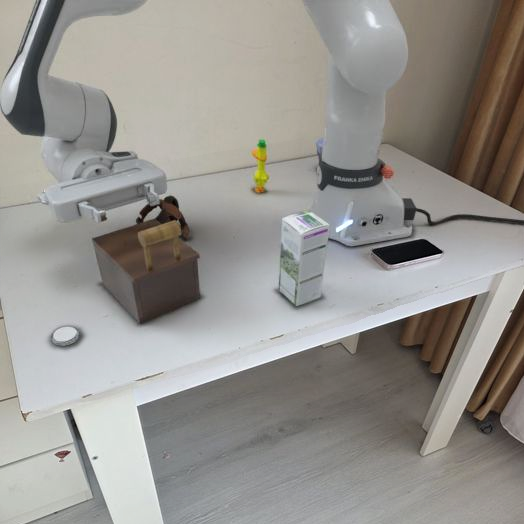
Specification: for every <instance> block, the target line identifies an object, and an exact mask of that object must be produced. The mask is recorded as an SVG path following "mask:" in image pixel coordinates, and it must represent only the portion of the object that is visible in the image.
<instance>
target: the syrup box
mask: <svg viewBox="0 0 524 524" xmlns="http://www.w3.org/2000/svg"><path fill="white" fill-rule="evenodd" d="M329 227H330V225H329V224H328V223H326V222H325V221H323V220H322V219H321V218H319V217H318V216H316V215H315V214H313V213H312V212H311V210H303V211H299V212H295V213H293V214H290V215H287V216H285V217H282V218H281V231H280V232H281V233H280V234H281V235H280V250H279V251H280V255H279V271H278V273H279V274H278V291H279V292H280V294H282V295H283V296H284V297H285V298H286V299H287V300H288V301H289V302H290V303H292V304H293V305H294V306H295V307H299V306H303V305H305V304H307V303H310V302H312V301H315V300H318V299H319V298H321V297H322V289H323V282H324V275H325V266H326V257H327V251H328V245H329V243H328V242H329V238H328V236H329Z"/></svg>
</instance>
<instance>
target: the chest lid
mask: <svg viewBox="0 0 524 524" xmlns="http://www.w3.org/2000/svg"><path fill="white" fill-rule="evenodd" d="M181 235H182V228H181V226H180V223H179V221H175V220H174V221H171V222H168V223H165V224H161V223H160V222H158V221H157V220H156V219H155V218H152V219H149V220H144V222H142V223H139V224H137V223H136V224H132V225H130V226H127V227H123V228H119V229H117V230H114V231H111V232H107V233H105V234H102V235H98V236H95V237H91V240H92V243H94V244H95V245H96V246H97V247H98V248H99V249H100V250H101V251H102V252H103V253H104V254H105V255H106V256H107V257H108V258H109V259H110V260H111V261H112V262H113V263H114V264H115V265H116V266H117V267H118V268H119V269H120V270H121V271H122V272H123V273H124V274H125V275H126V276H127V277H128V278H129V279H130V280H131V281H132V282H133V283H136V282H139V281H142V280H144V279H147V278H150V277H152V276H155V275H157V274H160V273H163V272H165V271H168V270H170V269H173V268H176V267H178V266H181V265H184V264H186V263H189V262H191V261H194V260H199V259H201V254H200V253H199V252H198V251H197V250H195V249H194V248H193V247H192V246H191V245H189V244H187V243H186V242H185V241H184V240H182V239H181V238H180V236H181Z"/></svg>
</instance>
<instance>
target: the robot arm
mask: <svg viewBox="0 0 524 524" xmlns="http://www.w3.org/2000/svg"><path fill="white" fill-rule="evenodd" d="M147 2H148V0H35V2H34V5H33V8H32V11H31V13H30V15H29V19H28V21H27V23H26V27H25V30H24V32H23V35H22V38H21V41H20V43H19V46H18V49H17V52H16V54H15V56H14V59H13V61H12V63H11V65H10V67H9V68H8V69H7V72H6V74H5V76H4V77H3V81H2V84H1V88H0V111H1V114H2V115H3V117H4V118H5V119H6V120H7V122H8V123H9V124H10V125H11V127H13V129H15V130H16V131H17V132H18V133H19V134H20V135H22V136H32V137H43V138H42V139H41V142H40V147H39V150H40V151H39V152H40V156H41V157H40V158H41V159H42V162H43V164H44V166H45V168H46V170H47V171H48V173H50V175H51V176H52V177H53V178H54V179H55V180H56V181H57V182H58V183H54V184H50V185H48V186H47V187H45V189H43V192H41V193H39V194H37V199H38V200H39V202H40V203H41V204H42V205H45V206H48V207H49V211H50V213H51V215H52V216H53V218H54V219H55V220H56V221H57V222H58V223H62V224H63V223H65V224H66V223H70V222H73V221H77V220H80V219H88V220H94V221H95V222H96V223H98V224H100V223H102V222H105V221H108V217H107V213H106V212H107V211H111V210H113V209H117V208H120V207H124V206H127V205H130V204H134V203H137V202H140V201H141V202H142V201H144V200H146V205H147V204H149V205H150V206H155V205H158V204H160V202H159V199H160V197H159V196H160V195H165V194H167V191H168V181H167V175H166V173H165V171H164V170H163V169H162V168H160V167H159V166H157V165H156V164H154V163H153V162H151V161H149V160H147V159H144V158H139V156H138V153H136V152H135V151H133V150H127V151H111V149H112V147H113V145H114V143H115V141H116V140H115V139H116V135H117V130H118V117H117V113H116V111H115V108H114V105H113V103H112V102H111V99H110V98H109V96H108V94H107V93H106V92H105V91H104V90H102V89H100V88H99V89H98V88H95V87H93V86H90V85H86V84H82V83H79V82H74V81H70V80H67V79H63V78H60V77H57V76H54V75H50V74H49V72H50V70H51V67H52V65H53V63H54V60H55V57H56V54H57V52H58V50H59V47H60V45H61V42H62V40H63V37H64V35H65V33H66V32H67V30H68V28H70V27H71V25H72V24H74V23H75V22H78V21H80V20H82V19H87V18H93V17H116V16H118V17H119V16H124V15H127V14H130V13H131V14H132V13H133V12H135V11H137V10H139V9H140V8H142V7H143V6H144V5H145V4H146V3H147ZM300 2H301V3H302V4H303V7H304V8H305V11H306V12H307V14H308V15H309V18H310V19H311V22H312V23H313V25H314V27H315V29H316V30H317V33H318V34H319V36H320V38H321V40H322V41H323V43H324V45H325V48H326V49H327V51H328V63H327V64H328V65H327V85H326V107H325V109H326V111H325V120H324V129H323V130H324V131H323V138H324V139H323V148H322V154H321V155H320V157H318V165H317V168H316V191H315V194H314V197H313V201H312V205H311V208H310V211H311V212H312V213H313V214H315V215H316V216H318V217H319V218H321V219H322V220H323V221H325V222H326V223H328V224H329V225H330V227H329V236H328V239H330V240H334V241H337V242H339V243H341V244H343V245H345V246H347V247H356V246H363V245H368V244H373V243H380V242H386V241H390V240H391V241H392V240H397V239H402V238H408V237H410V236H411V235H412V233H413V223H412V222H411V221H414V220H415V216H416V213H420V214H422V215H425V216H426V219H427V223H428V224H429V225H431V226H437V225H440V224H443V223H446V222H448V221H450V220H453V219H459V218H460V219H462V218H463V219H477V220H483V221H484V220H485V221H492V222H493V221H494V222H502V223H503V222H505V223H514V224H524V219H516V218H507V217H497V216H485V215H477V214H468V213H467V214H466V213H463V214H461V213H459V214H453V215H449V216H447V217H444V218H443V219H441V220H439V221H432V218H431V217H432V216H431V214H430V213H429V212H428V211H427V210H425V209H422V208H418V207H416V205H415V202H414V200H413V199H412V198H411V197H410V198H409V197H402V195H401V194H400V193H399V191H398V190H397V189H396V188H395V187H394V186H393V185H392V184H391V183H389V181H387V180H391V179H392V178H393V177H394V175H395V174H394V173H395V172H394V170H393V168H392V167H391V166H389V165H386V163H385V162H384V161H383V160H382V159H380V158H379V155H380V152H381V151H380V150H381V146H382V141H383V135H384V131H385V124H386V101H387V100H386V97H387V91H388V90H390V89H391V88H393V86H395V85H396V84H397V83H398V82H399V81H400V79H401V77H402V76H403V74H404V73H405V70H406V67H407V64H408V60H409V44H408V39H407V35H406V33H405V30H404V28H403V25H402V23H401V22H400V20H399V17H398V15H397V13H396V11H395V9H394V7H393V5H392V3H391V1H390V0H300Z"/></svg>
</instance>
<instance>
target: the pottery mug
mask: <svg viewBox="0 0 524 524" xmlns="http://www.w3.org/2000/svg"><path fill="white" fill-rule="evenodd" d="M159 202H160V204H158V205H155V206H150V205H149V204H147V203H146V205H144V207H142V208H141V210H139V213H138V214H139V215H140V216H141V217H140V216H138V217H137V218H136V220H135V223H136V224H139V223H142V222H145V219H146V218H147V216H148V215H149V214H150V213H151V212H152V211H154V210H155V209H157V208H158V207H159V209H160V212H159V214H158V215H157V216H156V217H155V218H154V219H156V220H157V221H158V222H160V223H161V224H165V223H168V222H171V221H174V220H175V221H177V222H178V224H179V225H180V228H181V229H182V230H181V235H183V236H184V240H186V241H187V240H188V239H189V238H190V235H191V230H190V228H189V225H188V223H187V221H186V219H185V217H184V214H183V213H182V211H181V210H180V204H179V200H178V199H177V197H175V196H174V195H167V196H165V197H164V198H163V199H161V198H159Z"/></svg>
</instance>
